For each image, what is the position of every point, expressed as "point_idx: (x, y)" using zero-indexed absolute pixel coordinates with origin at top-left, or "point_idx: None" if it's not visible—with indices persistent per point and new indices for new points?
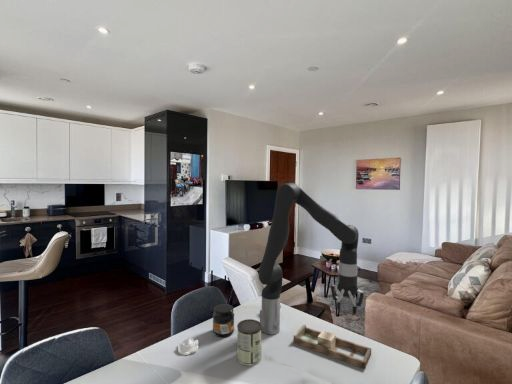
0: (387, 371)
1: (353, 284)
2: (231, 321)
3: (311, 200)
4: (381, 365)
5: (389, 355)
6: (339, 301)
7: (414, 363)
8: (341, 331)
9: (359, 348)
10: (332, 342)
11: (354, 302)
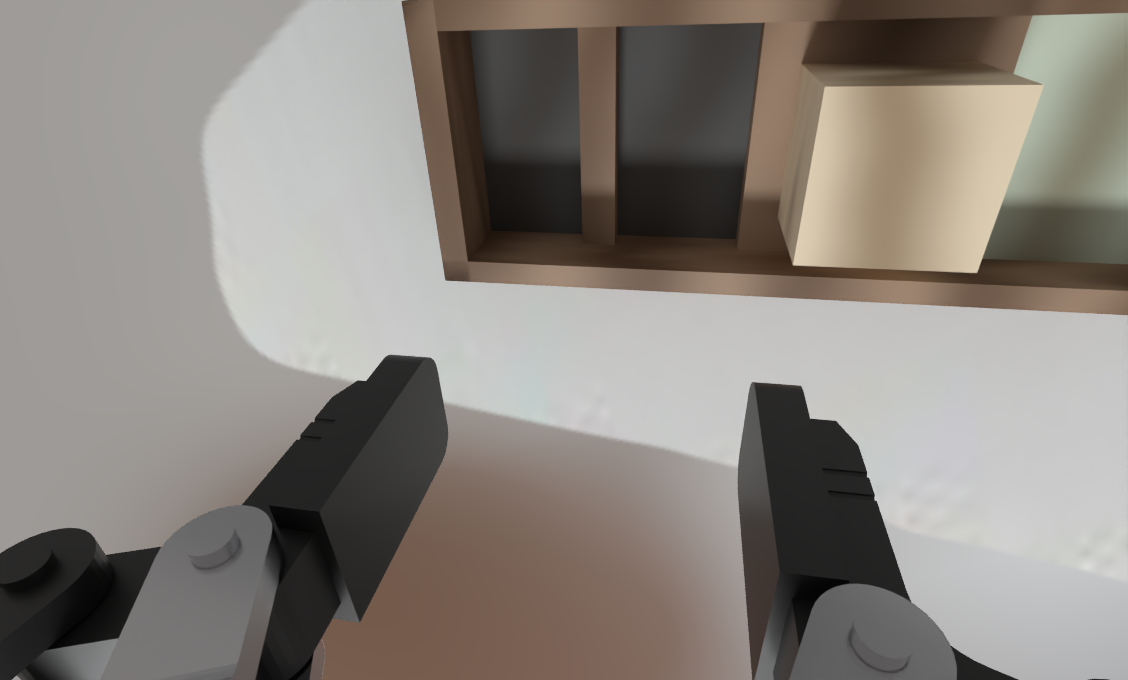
0: (321, 140)
1: None
2: None
3: None
4: (380, 191)
5: (384, 340)
6: (815, 627)
7: (244, 332)
8: None
9: (547, 255)
10: (807, 134)
11: (150, 643)
